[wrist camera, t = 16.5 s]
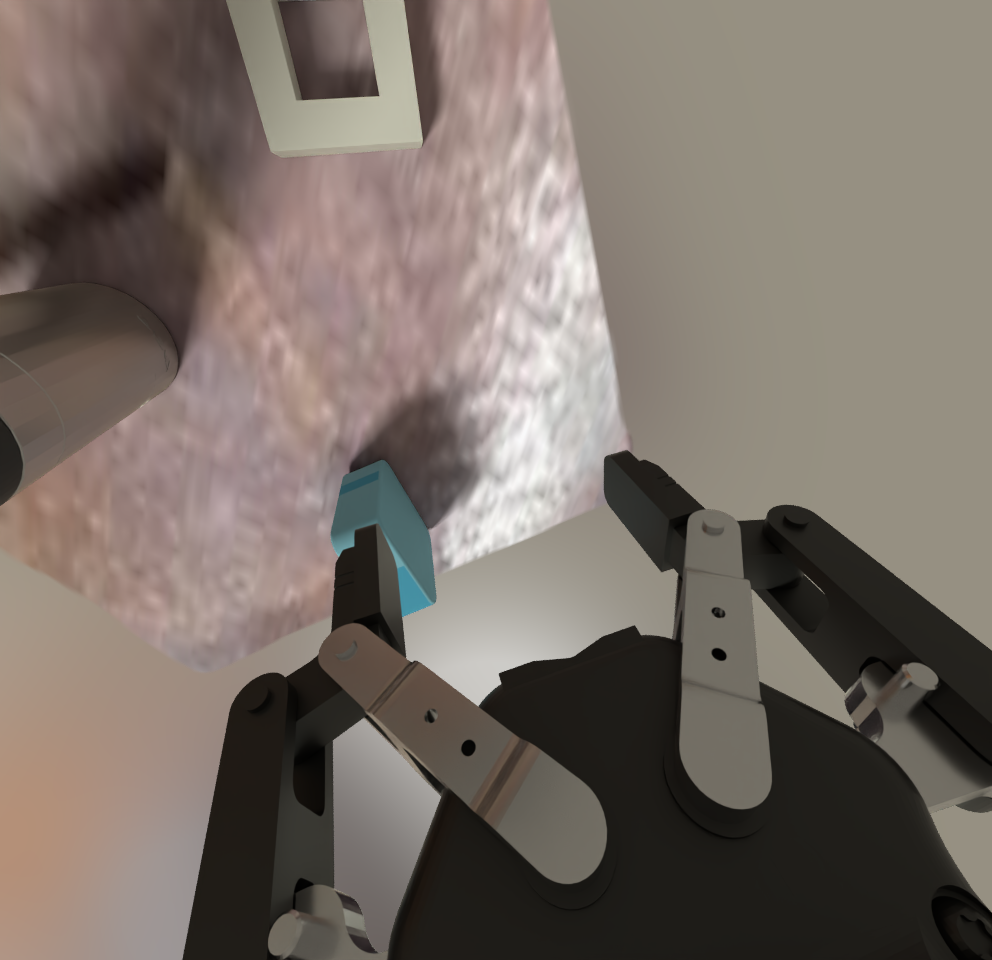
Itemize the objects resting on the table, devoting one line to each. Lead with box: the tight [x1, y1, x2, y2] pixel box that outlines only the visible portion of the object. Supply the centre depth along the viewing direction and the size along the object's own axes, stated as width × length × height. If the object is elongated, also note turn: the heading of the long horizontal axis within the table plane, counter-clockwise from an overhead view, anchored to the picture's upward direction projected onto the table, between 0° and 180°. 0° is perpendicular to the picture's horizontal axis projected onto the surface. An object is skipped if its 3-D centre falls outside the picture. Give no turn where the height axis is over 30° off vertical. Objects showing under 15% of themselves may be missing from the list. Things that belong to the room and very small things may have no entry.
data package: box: [331, 460, 436, 617], centre depth 41 cm, size 12×4×12 cm, turn 20°
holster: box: [226, 0, 423, 158], centre depth 26 cm, size 10×10×3 cm
